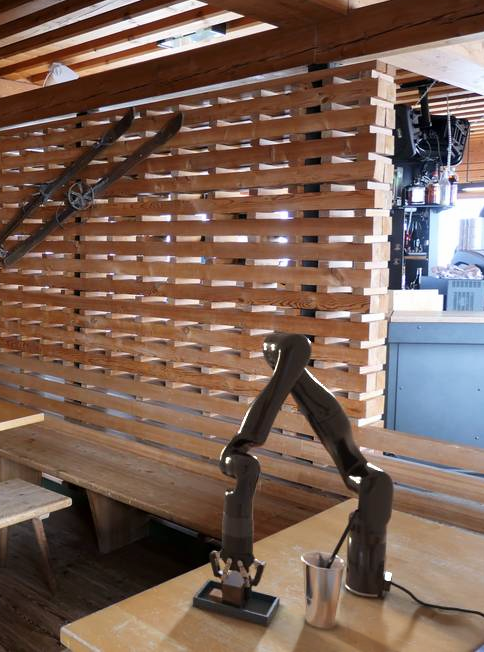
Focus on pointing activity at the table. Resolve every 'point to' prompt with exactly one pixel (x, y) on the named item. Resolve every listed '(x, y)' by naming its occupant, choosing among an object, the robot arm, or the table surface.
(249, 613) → the tray
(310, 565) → the metal cup with straw
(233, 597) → the brown long rectangular block
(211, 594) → the copper square block
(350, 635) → the table surface
